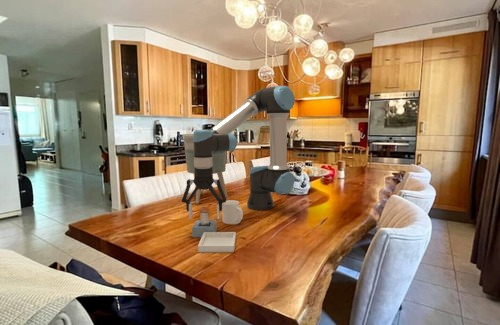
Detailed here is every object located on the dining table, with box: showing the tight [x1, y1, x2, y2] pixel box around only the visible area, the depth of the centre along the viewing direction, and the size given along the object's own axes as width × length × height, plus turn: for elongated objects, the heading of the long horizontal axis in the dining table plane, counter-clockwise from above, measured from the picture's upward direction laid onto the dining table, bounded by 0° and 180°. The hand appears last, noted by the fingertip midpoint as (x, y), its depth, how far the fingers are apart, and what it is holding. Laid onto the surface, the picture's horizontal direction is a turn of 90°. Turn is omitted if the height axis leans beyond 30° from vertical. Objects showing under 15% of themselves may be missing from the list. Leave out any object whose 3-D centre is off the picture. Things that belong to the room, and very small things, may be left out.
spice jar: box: [199, 206, 210, 226], centre depth 117 cm, size 4×4×11 cm
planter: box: [183, 133, 229, 204], centre depth 170 cm, size 26×26×40 cm
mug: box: [221, 199, 244, 225], centre depth 131 cm, size 12×9×8 cm
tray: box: [197, 231, 237, 253], centre depth 106 cm, size 13×13×2 cm
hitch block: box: [191, 219, 218, 238], centre depth 117 cm, size 9×9×4 cm
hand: (204, 218), depth 117 cm, fingers open, 11 cm apart
